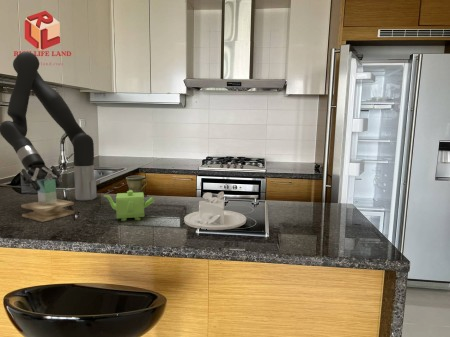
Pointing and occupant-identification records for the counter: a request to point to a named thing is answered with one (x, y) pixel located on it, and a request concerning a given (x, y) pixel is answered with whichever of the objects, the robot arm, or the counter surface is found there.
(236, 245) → the counter surface
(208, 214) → the dish
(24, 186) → the small box
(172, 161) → the counter surface
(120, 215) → the kettle
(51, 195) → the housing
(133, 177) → the ceramic cup
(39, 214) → the stand
